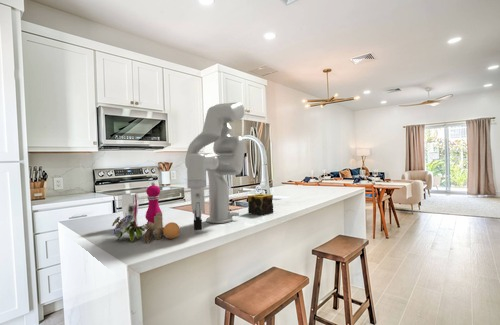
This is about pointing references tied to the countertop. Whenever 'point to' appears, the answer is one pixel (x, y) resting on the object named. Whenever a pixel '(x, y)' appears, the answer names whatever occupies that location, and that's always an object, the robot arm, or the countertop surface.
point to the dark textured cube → (260, 204)
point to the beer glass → (130, 205)
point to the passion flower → (127, 227)
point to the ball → (171, 230)
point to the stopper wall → (148, 235)
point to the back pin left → (157, 227)
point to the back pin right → (161, 218)
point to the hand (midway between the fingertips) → (197, 229)
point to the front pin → (151, 226)
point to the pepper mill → (152, 202)
